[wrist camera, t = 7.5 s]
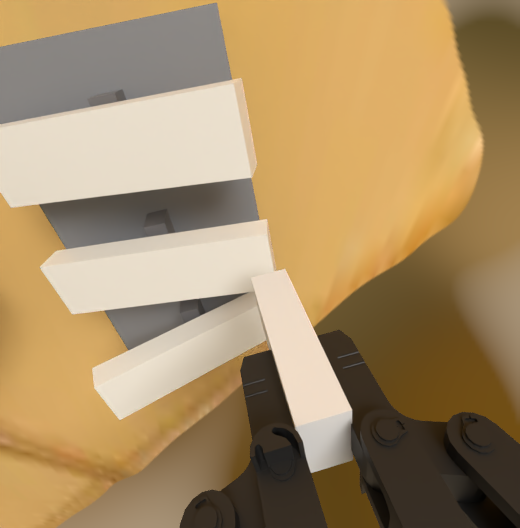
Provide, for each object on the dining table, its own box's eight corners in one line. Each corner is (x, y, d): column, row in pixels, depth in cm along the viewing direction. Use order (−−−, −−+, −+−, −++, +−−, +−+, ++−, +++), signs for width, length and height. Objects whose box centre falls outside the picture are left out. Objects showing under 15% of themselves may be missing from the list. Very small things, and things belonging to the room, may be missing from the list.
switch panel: (146, 335, 30) (137, 391, 25) (-5, 57, 17) (-84, 57, 12) (271, 303, 30) (287, 351, 25) (211, 12, 18) (220, -5, 13)
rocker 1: (34, 194, 17) (10, 207, 15) (-8, 125, 15) (-39, 134, 14) (257, 164, 14) (251, 177, 13) (241, 78, 12) (233, 83, 11)
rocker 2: (85, 296, 20) (72, 314, 19) (56, 250, 18) (39, 267, 17) (276, 271, 18) (277, 288, 17) (267, 218, 17) (267, 234, 15)
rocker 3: (116, 400, 21) (119, 420, 20) (92, 368, 19) (94, 387, 18) (272, 318, 25) (283, 330, 23) (265, 284, 23) (276, 295, 21)
